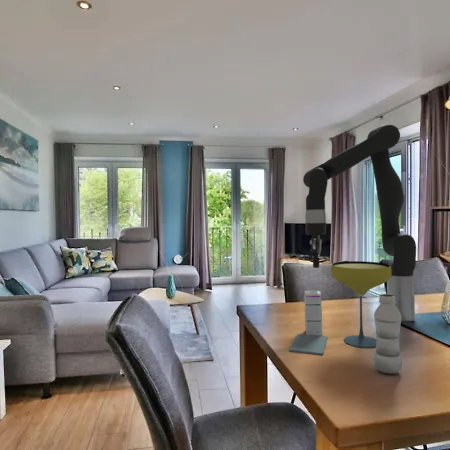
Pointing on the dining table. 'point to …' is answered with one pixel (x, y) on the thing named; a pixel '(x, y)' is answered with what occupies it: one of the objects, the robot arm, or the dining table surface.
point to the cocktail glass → (361, 288)
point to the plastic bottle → (387, 335)
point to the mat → (309, 344)
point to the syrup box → (313, 312)
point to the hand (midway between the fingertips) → (316, 267)
